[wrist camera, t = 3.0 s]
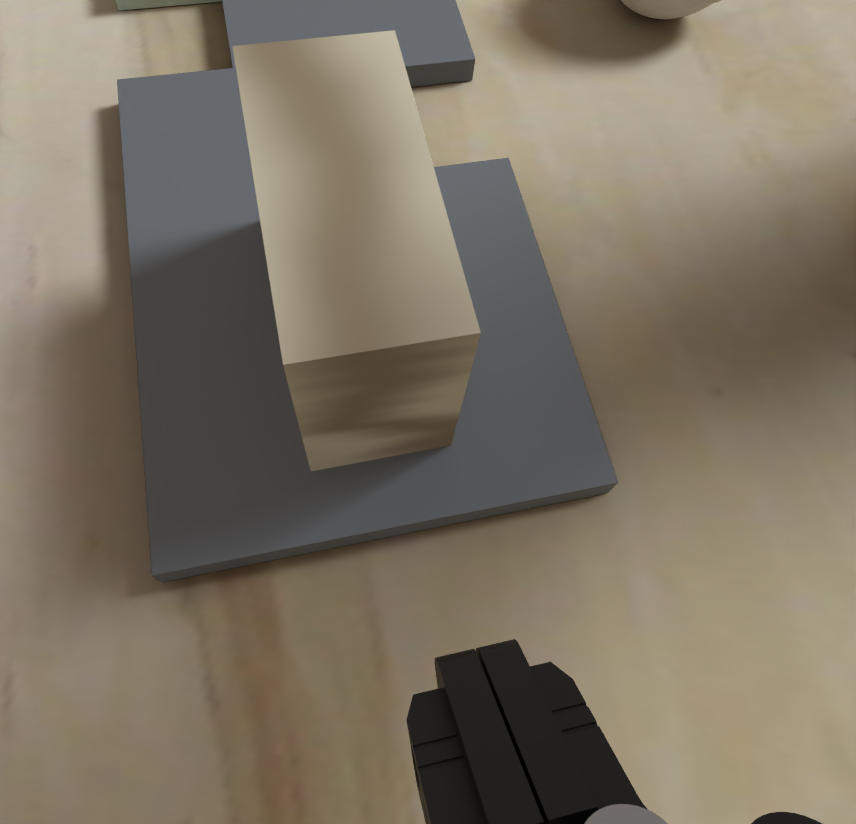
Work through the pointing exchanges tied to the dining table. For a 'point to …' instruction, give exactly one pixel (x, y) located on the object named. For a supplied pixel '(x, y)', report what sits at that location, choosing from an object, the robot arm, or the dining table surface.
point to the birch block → (356, 248)
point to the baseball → (667, 7)
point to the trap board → (259, 342)
